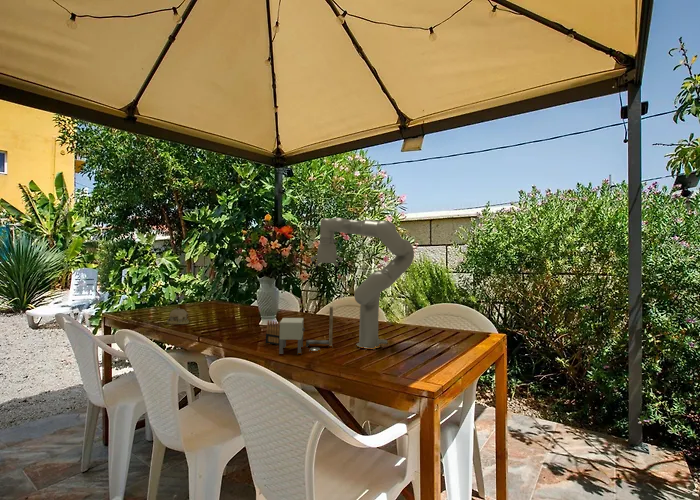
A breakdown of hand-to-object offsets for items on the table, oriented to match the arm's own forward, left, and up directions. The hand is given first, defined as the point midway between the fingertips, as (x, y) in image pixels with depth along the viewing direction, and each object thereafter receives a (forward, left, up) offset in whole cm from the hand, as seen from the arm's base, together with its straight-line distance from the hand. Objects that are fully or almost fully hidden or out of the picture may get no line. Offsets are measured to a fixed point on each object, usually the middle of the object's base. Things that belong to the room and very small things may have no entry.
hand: (326, 273), depth 201 cm
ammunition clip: (+26, +5, -37) cm, 45 cm away
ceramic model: (+97, -55, -37) cm, 117 cm away
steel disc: (+5, +19, -37) cm, 42 cm away
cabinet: (+16, +19, -36) cm, 44 cm away
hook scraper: (+3, +10, -36) cm, 38 cm away
